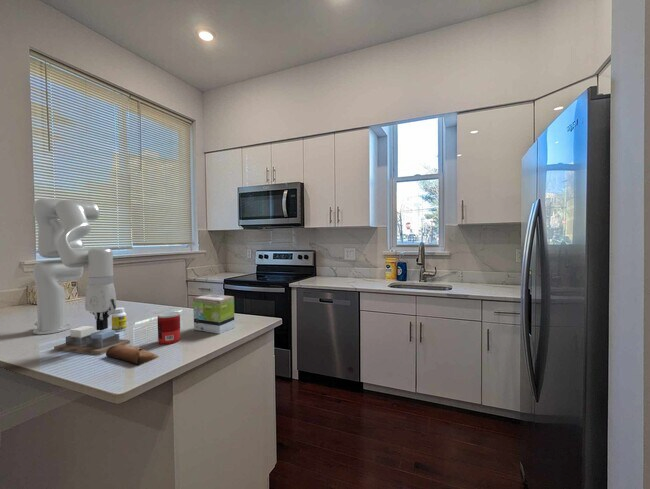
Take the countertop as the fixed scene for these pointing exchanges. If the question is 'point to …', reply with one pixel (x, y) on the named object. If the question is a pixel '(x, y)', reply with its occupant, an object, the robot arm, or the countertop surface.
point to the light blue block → (102, 334)
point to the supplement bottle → (119, 320)
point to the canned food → (168, 328)
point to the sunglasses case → (131, 354)
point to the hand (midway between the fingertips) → (102, 329)
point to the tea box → (213, 313)
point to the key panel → (90, 344)
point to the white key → (82, 331)
